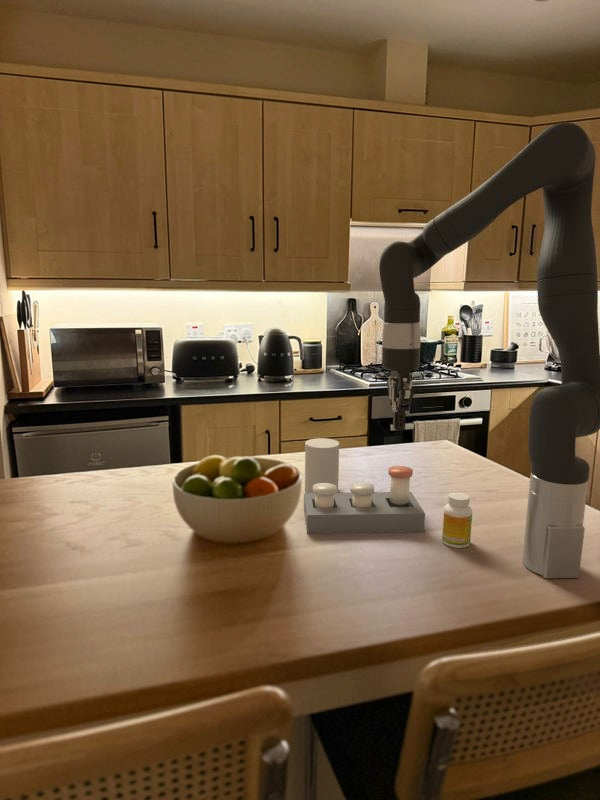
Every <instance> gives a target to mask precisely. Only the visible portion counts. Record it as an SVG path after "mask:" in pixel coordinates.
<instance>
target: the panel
mask: <svg viewBox="0 0 600 800" xmlns="http://www.w3.org/2000/svg"><path fill="white" fill-rule="evenodd" d="M352 502H353V493H352V492H337V493H336V494H334V508H315V494H314V493H306V492H304V493H303V514H304V520H305V526H306V528H305V529H306V534H308V535H309V534H313V535H314V534H358V533H359V534H360V533H363V534H364V533H365V534H367V533H368V534H369V533H373V534H374V533H419V532H421V533H425V522H426V512H425V511H424V510H423V507H421V505H420V503H419V501H418V500H417V499H416V497H415V496H414V494H413V493H412V491H409V503H407V504H404V505H398V504H394V503H391V502H390V491H378V492H377V491H376V492H375V491H374V493H373V494H372V500H371V507H361V508H352Z"/></svg>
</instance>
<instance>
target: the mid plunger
mask: <svg viewBox="0 0 600 800" xmlns="http://www.w3.org/2000/svg"><path fill="white" fill-rule="evenodd" d="M349 492H350V493H353V502H352V508H361V507H371V500H372V494H373V493H374V492H375V486H374V484H371V483H368V482H364V481H362V482H361V481H360V482H354V483H352V484H350V491H349Z"/></svg>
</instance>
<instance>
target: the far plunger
mask: <svg viewBox="0 0 600 800" xmlns="http://www.w3.org/2000/svg"><path fill="white" fill-rule="evenodd" d="M336 490H337V487H336V486H335V485H334V484H330V483H318V484H315V485H313V493H314V494H315V508H334V494H336Z"/></svg>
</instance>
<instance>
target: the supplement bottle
mask: <svg viewBox="0 0 600 800" xmlns="http://www.w3.org/2000/svg"><path fill="white" fill-rule="evenodd" d="M443 507H444V508H443V518H442V533H441V541H442V543H443V544H445V545H446V546H447V547H450V548H454V549H455V548H456V549H463V548H467V547H469V546H470V545H471V535H472V523H473V522H472V520H473V509H472V507H471V506H470V495H468V494H466V493H463V492H450V493H449V494H448V496H447V503H446V504H445V505H444V506H443Z"/></svg>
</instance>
